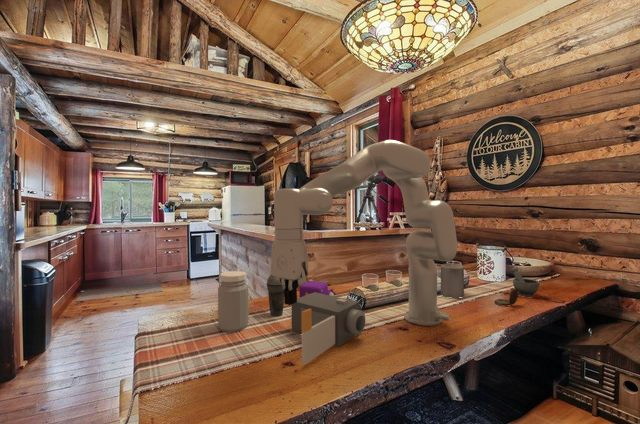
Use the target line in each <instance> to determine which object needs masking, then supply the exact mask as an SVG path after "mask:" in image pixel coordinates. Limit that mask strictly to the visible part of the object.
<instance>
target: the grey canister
mask: <svg viewBox="0 0 640 424" xmlns="http://www.w3.org/2000/svg"><path fill="white" fill-rule="evenodd" d="M464 274H465V266H463V265H462V264H457V263H456V264H455V263H453V262H452V263H442V264H441V265H440V296H441V295H443V296H445V297H444V298H446V297H452V298H459V297H463V296H464V297H465V276H464ZM443 296H442V297H443ZM464 297H463V298H464Z"/></svg>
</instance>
